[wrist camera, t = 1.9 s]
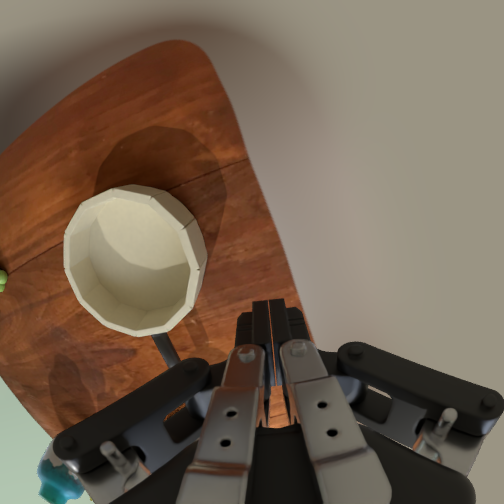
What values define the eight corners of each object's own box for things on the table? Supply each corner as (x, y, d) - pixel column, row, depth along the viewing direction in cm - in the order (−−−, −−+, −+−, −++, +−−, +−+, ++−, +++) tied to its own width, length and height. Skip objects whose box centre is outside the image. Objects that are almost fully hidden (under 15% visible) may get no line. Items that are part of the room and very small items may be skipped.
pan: (71, 212, 26) (46, 220, 22) (180, 165, 25) (165, 166, 20) (148, 379, 33) (138, 402, 28) (249, 364, 31) (248, 391, 27)
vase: (53, 427, 40) (21, 484, 22) (70, 420, 38) (33, 488, 20) (88, 454, 42) (63, 513, 24) (109, 451, 40) (83, 519, 22)
